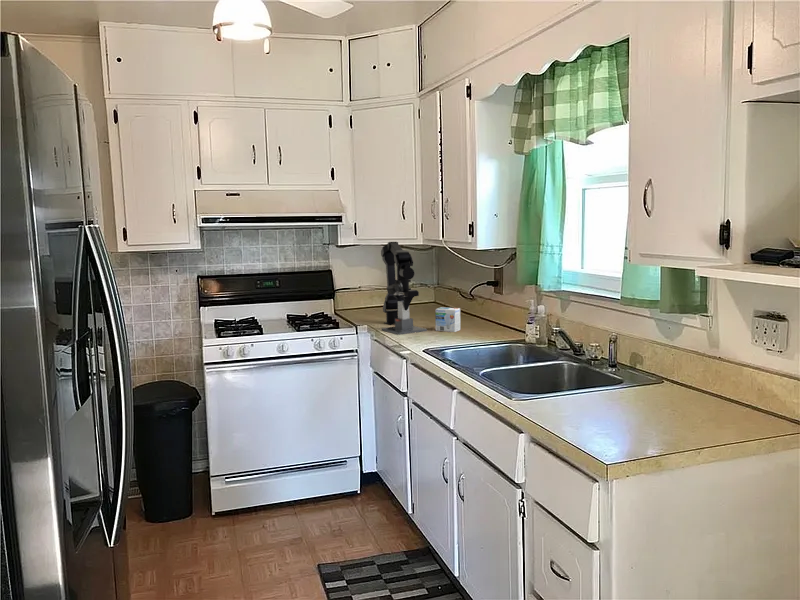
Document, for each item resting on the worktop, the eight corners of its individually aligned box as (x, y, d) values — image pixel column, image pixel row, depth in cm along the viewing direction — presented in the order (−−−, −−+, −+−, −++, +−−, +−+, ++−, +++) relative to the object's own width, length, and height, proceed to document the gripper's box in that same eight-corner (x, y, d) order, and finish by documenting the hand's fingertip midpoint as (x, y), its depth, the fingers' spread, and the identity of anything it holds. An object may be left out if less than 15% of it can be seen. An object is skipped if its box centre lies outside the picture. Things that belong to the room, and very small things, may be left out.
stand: (381, 330, 331) (381, 318, 330) (408, 326, 339) (408, 315, 339) (399, 334, 317) (398, 322, 317) (426, 330, 326) (426, 318, 325)
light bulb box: (435, 330, 326) (434, 308, 325) (440, 328, 332) (440, 307, 331) (455, 332, 321) (455, 309, 320) (460, 330, 327) (460, 308, 326)
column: (397, 321, 328) (397, 301, 327) (405, 320, 331) (404, 300, 329) (402, 322, 325) (402, 302, 324) (409, 321, 327) (409, 301, 326)
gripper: (378, 277, 329) (379, 309, 331) (399, 280, 313) (400, 313, 315) (397, 276, 335) (398, 307, 337) (419, 278, 319) (419, 311, 321)
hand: (403, 309), depth 327 cm, fingers closed on column, 4 cm apart
